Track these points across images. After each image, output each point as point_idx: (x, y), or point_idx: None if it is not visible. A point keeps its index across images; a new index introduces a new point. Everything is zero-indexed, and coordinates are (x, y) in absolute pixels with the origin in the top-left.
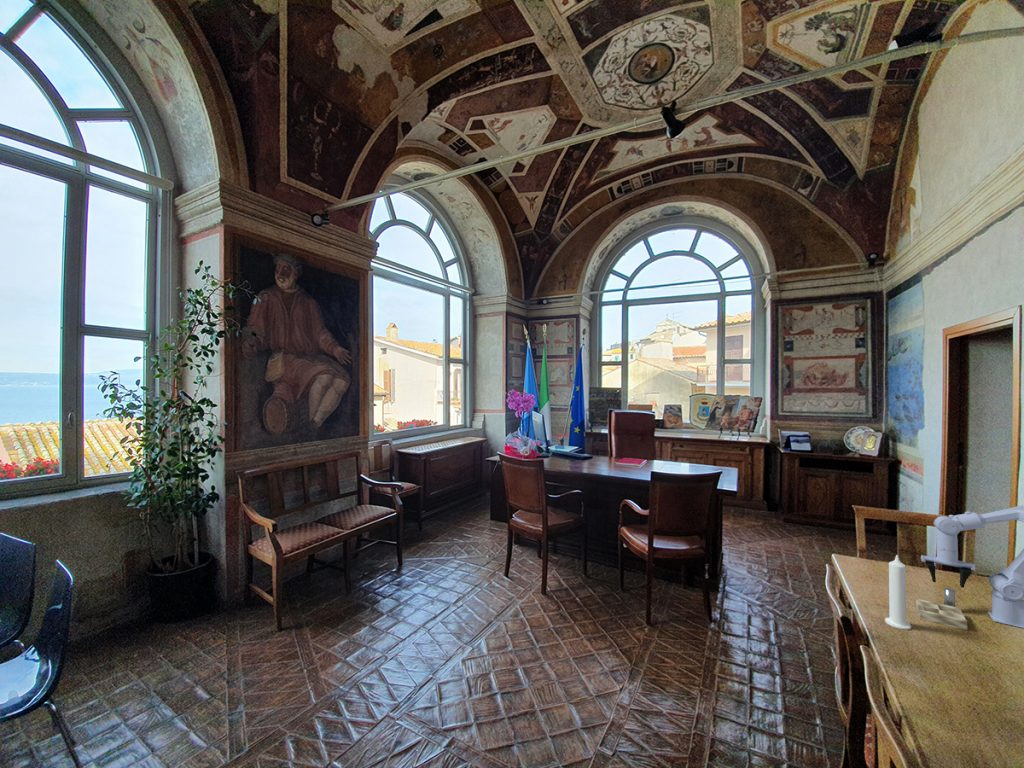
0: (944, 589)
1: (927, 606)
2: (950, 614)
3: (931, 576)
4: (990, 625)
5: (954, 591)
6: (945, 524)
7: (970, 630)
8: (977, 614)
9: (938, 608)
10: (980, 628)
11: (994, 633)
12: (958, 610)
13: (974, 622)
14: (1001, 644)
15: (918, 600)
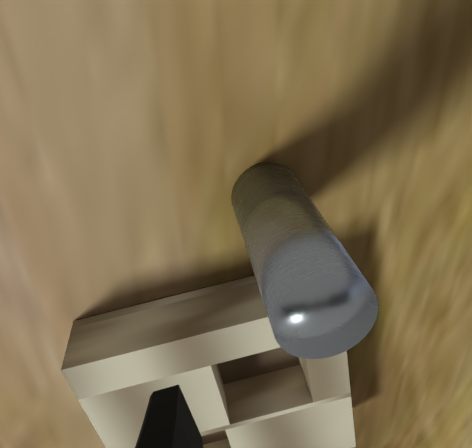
0: (275, 334)
1: None
2: (285, 441)
3: (136, 443)
4: (463, 256)
5: (367, 328)
6: None
7: None
8: (435, 110)
9: (222, 415)
10: (400, 342)
11: (450, 347)
12: None
13: (387, 286)
14: (444, 431)
15: (91, 391)
